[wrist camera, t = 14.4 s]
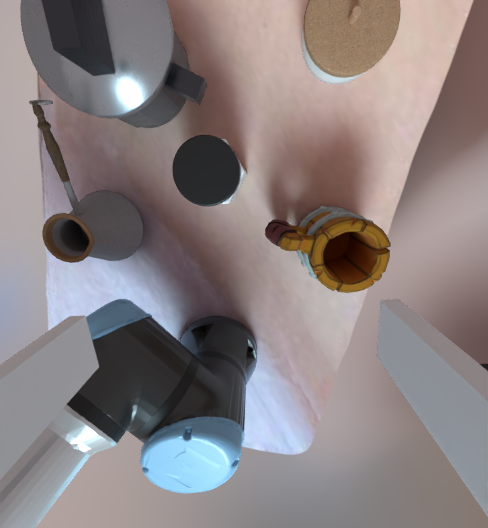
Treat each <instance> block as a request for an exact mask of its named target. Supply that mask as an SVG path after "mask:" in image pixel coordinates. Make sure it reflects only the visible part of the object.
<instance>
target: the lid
mask: <svg viewBox="0 0 488 528" xmlns="http://www.w3.org/2000/svg"><path fill="white" fill-rule="evenodd" d="M21 23H22V24H21V25H22V32H23V36H24V41H25V44H26V47H27V50H28V53H29V55H30V58H31V60H32V62H33V64H34V66H35V68H36V70H37V71H38V73H39V75H40V76H41V78H42V79H43V80H44V82H45V83H46V84H47V85H48V87H49V88H50V89H51V90H52V91H53V92H54V93H55V94H56V95H57V96H58V97H59V98H61V99H62V100H63V101H65V102H66V103H67V104H69V105H71V106H73V107H74V108H76V109H78V110H81V111H83V112H85V113H88V114H90V115H93V116H97V117H101V118H121V117H126V116H129V115H132V114H134V113H136V112H138V111H140V110H142V109H143V108H145V107H146V106H147V105H148V104H150V103H151V102H152V101H153V100H154V99H155V98H156V96H157V95H158V93H159V92H160V91H161V89H162V87H163V86H164V84H165V82H166V80H167V77H168V75H169V72H170V69H171V65H172V61H173V53H174V29H173V23H172V17H171V13H170V10H169V7H168V3H167V1H166V0H21Z"/></svg>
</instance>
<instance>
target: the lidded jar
mask: <svg viewBox="0 0 488 528" xmlns="http://www.w3.org/2000/svg"><path fill="white" fill-rule="evenodd" d="M399 21H400V0H309V2H308V5H307V8H306V12H305V17H304V24H303V30H302V51H303V57H304V60H305V63H306V65H307V67H308V69H309V70H310V72H311V73H312V74H313V75H314V76H315V77H316V78H317V79H319V80H320V81H323V82H325V83H328V84H343V83H347V82H350V81H352V80H354V79H356V78H358V77H360V76H361V75H363V74H364V73H365V72H367V71H368V70H369V69H370V68H372V67H373V66H374V65H375V64H376V63H377V62H378V61H379V60H381V58H382V57H383V56H384V55H385V54H386V52H387V51H388V49H389V48H390V46H391V45H392V42H393V40H394V38H395V36H396V33H397V30H398V26H399Z"/></svg>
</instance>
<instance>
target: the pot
mask: <svg viewBox="0 0 488 528" xmlns="http://www.w3.org/2000/svg"><path fill="white" fill-rule="evenodd" d="M206 87H207V83H206V81H205V79H204V78H202V77H200V76H198V75H196V74H194V73H192V72H190V70H189V65H188V61H187V57H186V51H185V49H184V48H183V46H182V44H181V42H180V40H179V38H178V36H177V35H176V33H175V31H174V53H173V61H172V65H171V69H170V72H169V75H168V77H167V80H166V82H165V84H164V86H163V87H162V89H161V91H160V92H159V93H158V95H157V96H156V98H155V99H154V100H153V101H152V102H151V103H150V104H148V105H147V106H146V107H145V108H143V109H142V110H140V111H138V112H136V113H134V114H132V115H129V116H126V117H121V118H118V119H120V120H122V121H125V122H127V123H129V124H131V125H133V126H135V127H137V128H138V127H144V128H152V127H158V126H161V125H163V124H165V123H167V122H169V121H170V120H172V119H173V118H174V117H175V116H176V115H177V114H178V113H179V111H180V110H181V108H182V107H183V105H184V103H185V101H186V98H187V99H189V100H191V101H193V102H195V103H197V104H199V105H200V103H201V101H202V98H203V95H204V92H205V90H206Z"/></svg>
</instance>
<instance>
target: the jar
mask: <svg viewBox="0 0 488 528" xmlns="http://www.w3.org/2000/svg"><path fill="white" fill-rule="evenodd" d="M246 176H247V172H246V170H245V169H244V167H243V166H242V164H241V162H240V161H239V159H238V157H237V156H236V154H235V152H234V151H233V149H232V148H231V146H230V145H229V143H228V142H227V141H226V139H220V138H217V137H215V136H211V135H199V136H195V137H193V138H190V139H189V140H187V141H186V142H185V143H183V144H182V146H181V147H180V148H179V149H178V151H177V153H176V155H175V158H174V161H173V177H174V181H175V184H176V186H177V188H178V190H179V191H180V193H181V194H182V195H183V196H184V197H185V198H186V199H188V200H189V201H190V202H192V203H194V204H196V205H200V206H215V205H218V204H222V203H230V202H231V201H233V200H235V198H236V196H237V194H238V192H239V190H240V188H241V186H242V184H243V182H244V180H245V178H246Z"/></svg>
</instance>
